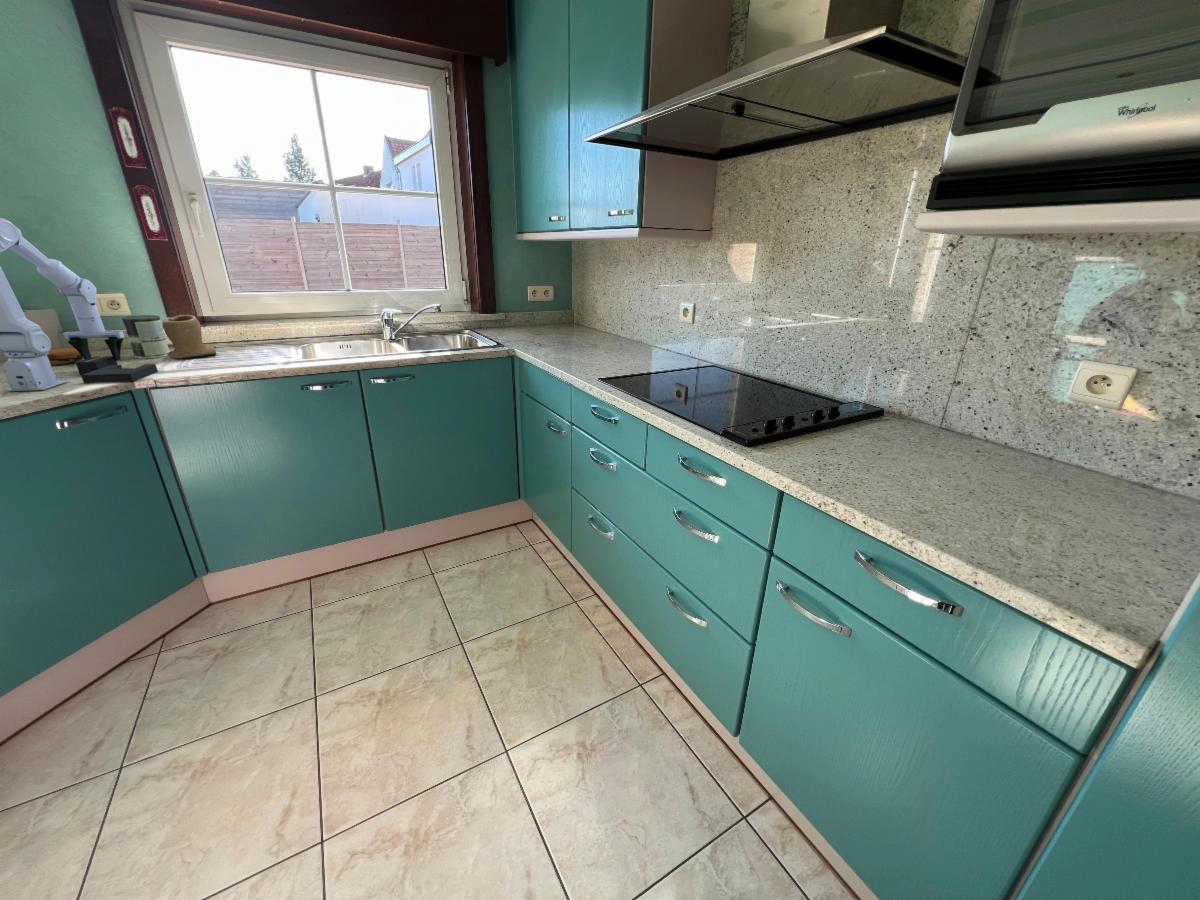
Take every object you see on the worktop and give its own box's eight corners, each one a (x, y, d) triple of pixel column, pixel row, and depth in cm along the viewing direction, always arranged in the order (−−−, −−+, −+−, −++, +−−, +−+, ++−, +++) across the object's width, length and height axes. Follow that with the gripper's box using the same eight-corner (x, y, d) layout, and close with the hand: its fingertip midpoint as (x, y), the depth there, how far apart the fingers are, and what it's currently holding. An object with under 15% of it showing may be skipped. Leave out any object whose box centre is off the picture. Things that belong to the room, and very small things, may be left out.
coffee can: (128, 359, 175) (114, 318, 170) (143, 353, 184) (131, 315, 179) (163, 358, 178) (150, 318, 173) (176, 352, 187) (165, 315, 182)
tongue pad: (99, 374, 154) (94, 361, 153) (80, 375, 153) (75, 362, 151) (118, 367, 163) (114, 355, 162) (100, 368, 162) (96, 355, 160)
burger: (37, 366, 162) (31, 352, 160) (57, 360, 170) (51, 347, 169) (74, 365, 165) (69, 351, 163) (92, 359, 173) (87, 346, 171)
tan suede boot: (173, 362, 172) (160, 318, 167) (165, 357, 180) (153, 315, 174) (225, 356, 183) (214, 315, 178) (215, 352, 190) (205, 312, 185)
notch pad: (133, 381, 147) (130, 373, 146) (83, 383, 144) (80, 375, 143) (158, 371, 160) (155, 363, 159) (113, 372, 157) (110, 365, 156)
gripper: (123, 316, 160) (137, 357, 165) (68, 316, 156) (84, 358, 162) (110, 319, 154) (124, 361, 159) (52, 319, 150) (69, 363, 155)
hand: (103, 360), depth 160 cm, fingers open, 7 cm apart
